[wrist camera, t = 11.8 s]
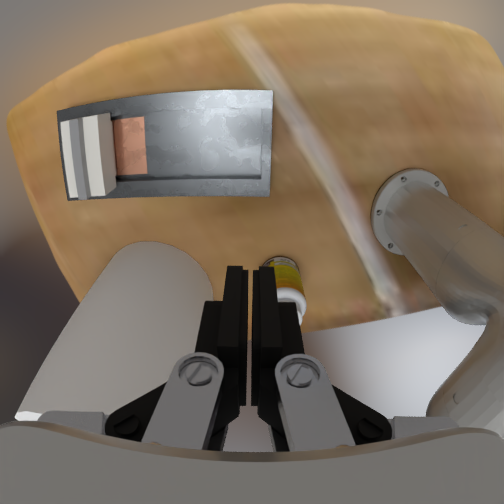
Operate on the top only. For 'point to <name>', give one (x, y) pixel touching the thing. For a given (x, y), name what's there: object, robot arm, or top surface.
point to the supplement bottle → (288, 283)
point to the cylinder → (123, 333)
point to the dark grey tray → (187, 143)
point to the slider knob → (89, 156)
